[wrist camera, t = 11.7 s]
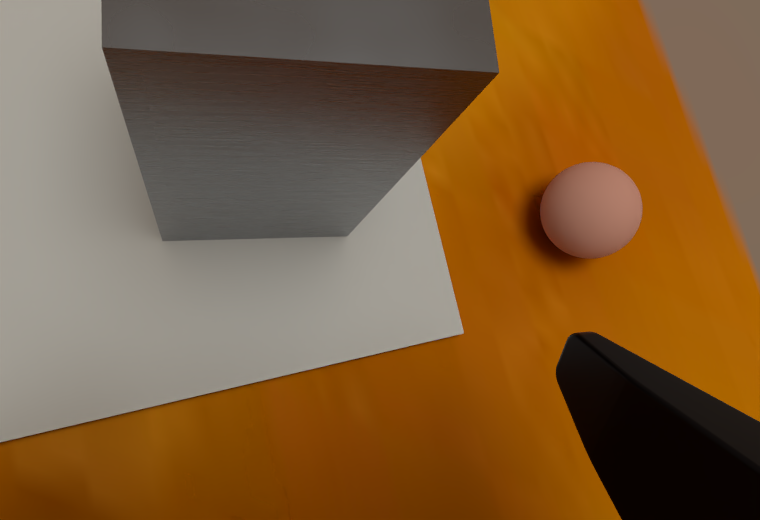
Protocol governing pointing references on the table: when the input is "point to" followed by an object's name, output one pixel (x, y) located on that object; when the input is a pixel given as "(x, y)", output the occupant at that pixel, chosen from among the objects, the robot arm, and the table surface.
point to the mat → (167, 258)
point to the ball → (591, 210)
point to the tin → (287, 104)
